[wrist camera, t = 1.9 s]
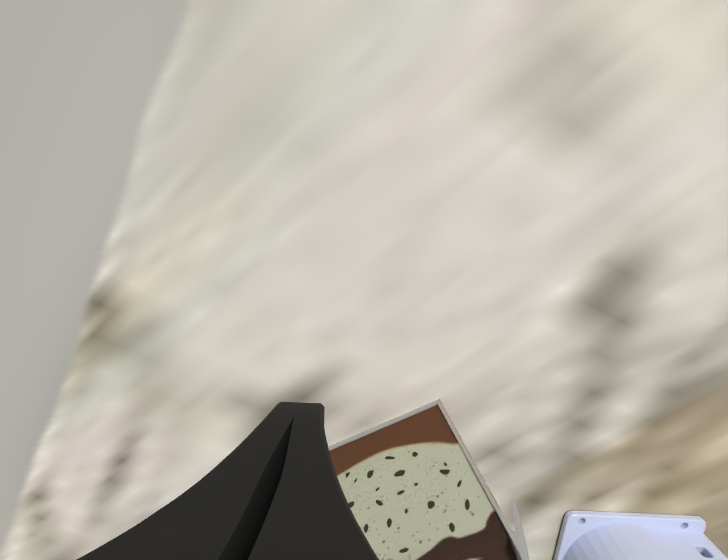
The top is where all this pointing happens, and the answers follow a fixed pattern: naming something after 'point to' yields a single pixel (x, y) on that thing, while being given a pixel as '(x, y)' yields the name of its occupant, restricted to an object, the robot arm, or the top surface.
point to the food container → (423, 492)
